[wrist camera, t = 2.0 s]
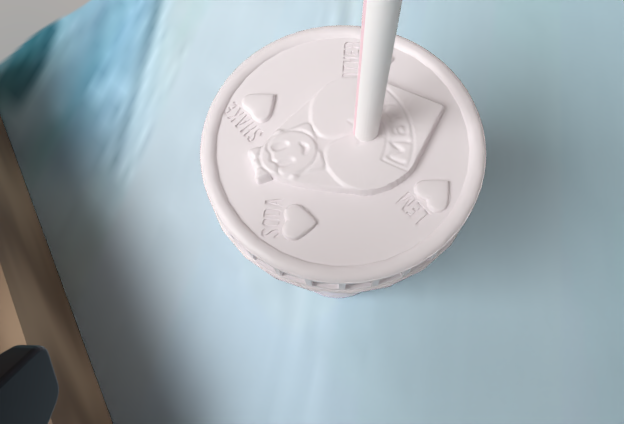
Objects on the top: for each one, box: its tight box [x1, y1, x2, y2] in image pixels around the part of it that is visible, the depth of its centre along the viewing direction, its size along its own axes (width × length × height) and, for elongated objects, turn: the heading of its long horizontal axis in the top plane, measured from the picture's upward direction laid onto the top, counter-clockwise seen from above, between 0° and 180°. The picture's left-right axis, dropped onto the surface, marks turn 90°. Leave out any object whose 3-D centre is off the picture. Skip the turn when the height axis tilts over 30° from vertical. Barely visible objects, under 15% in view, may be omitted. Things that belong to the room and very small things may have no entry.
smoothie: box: [200, 0, 486, 298], centre depth 14 cm, size 6×6×14 cm
